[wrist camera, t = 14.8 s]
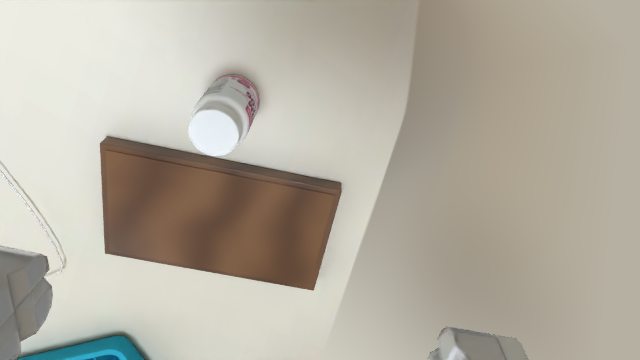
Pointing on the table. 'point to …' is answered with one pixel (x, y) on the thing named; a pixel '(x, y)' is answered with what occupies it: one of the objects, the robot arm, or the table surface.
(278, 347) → the table surface
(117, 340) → the ice cube tray
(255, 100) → the pill bottle
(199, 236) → the cutting board
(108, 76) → the table surface
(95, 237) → the table surface
